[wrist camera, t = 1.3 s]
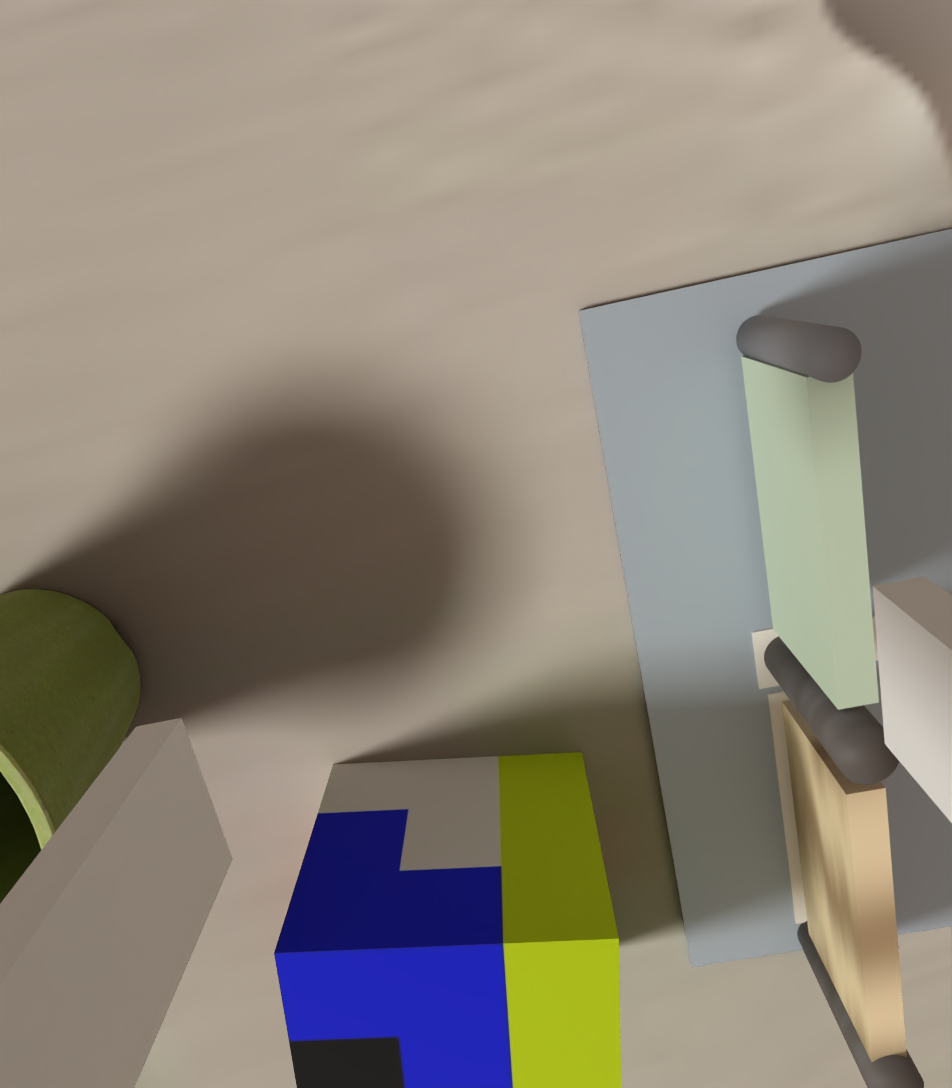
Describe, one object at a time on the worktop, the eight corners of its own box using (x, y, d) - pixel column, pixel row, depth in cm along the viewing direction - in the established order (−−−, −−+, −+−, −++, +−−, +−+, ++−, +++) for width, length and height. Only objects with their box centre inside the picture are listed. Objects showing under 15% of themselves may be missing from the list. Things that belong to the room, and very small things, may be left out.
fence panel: (733, 320, 28) (803, 333, 22) (776, 310, 28) (859, 321, 21) (770, 629, 31) (840, 717, 25) (809, 622, 31) (888, 708, 25)
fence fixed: (758, 634, 32) (836, 737, 25) (805, 625, 32) (898, 726, 25) (796, 947, 37) (872, 1110, 29) (839, 940, 36) (925, 1103, 29)
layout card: (578, 310, 29) (579, 310, 28) (1130, 189, 27) (1139, 187, 27) (690, 962, 37) (692, 969, 36) (1118, 893, 35) (1124, 900, 35)
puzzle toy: (333, 763, 34) (274, 953, 25) (581, 751, 34) (618, 938, 24) (359, 961, 37) (315, 1198, 28) (587, 952, 37) (622, 1188, 27)
